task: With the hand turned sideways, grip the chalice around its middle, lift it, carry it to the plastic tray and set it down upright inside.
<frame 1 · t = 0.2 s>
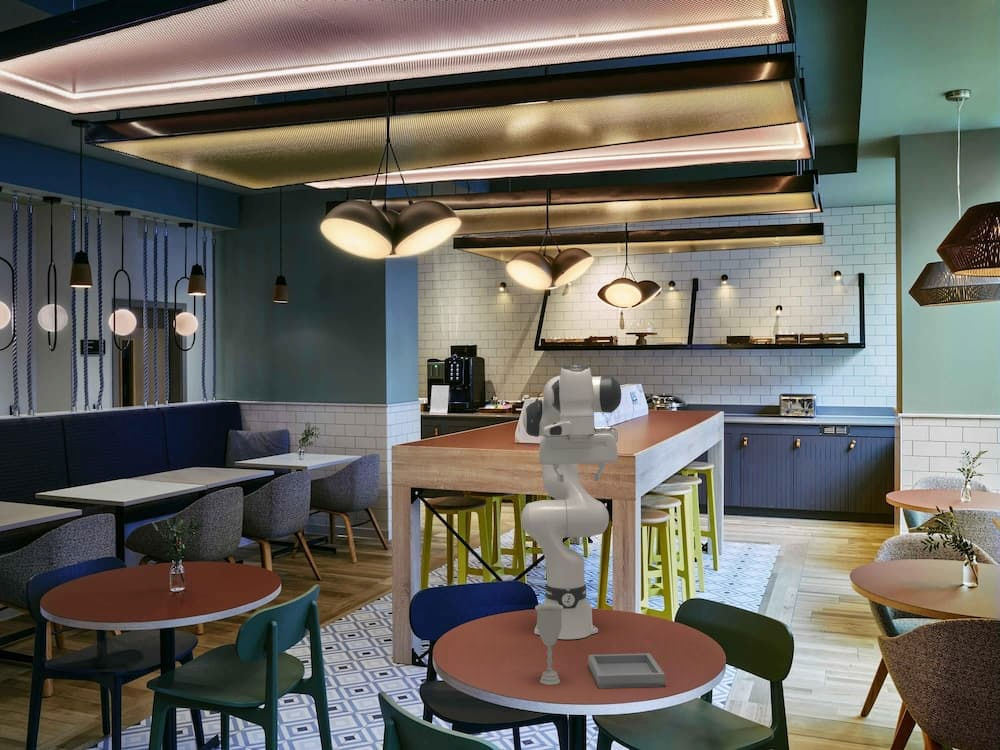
hand: (578, 481, 216), 48 cm above the table, tool pointing down, fingers open, 8 cm apart
tray: (625, 676, 209), on the table
chalice: (550, 681, 206), on the table
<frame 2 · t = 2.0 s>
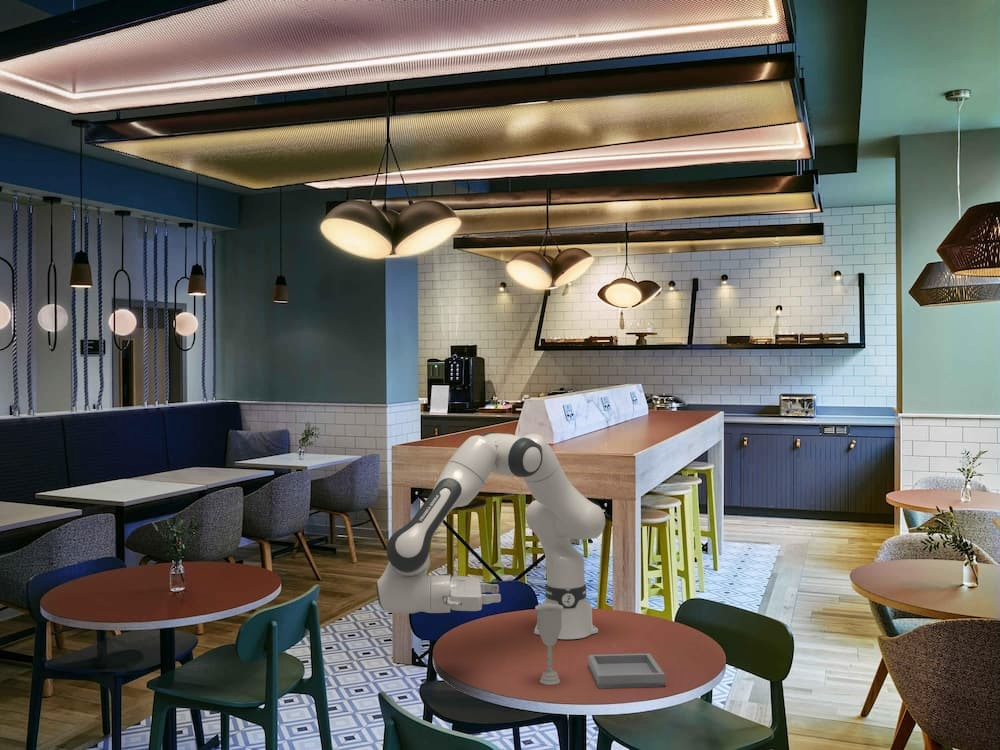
hand: (499, 593, 206), 22 cm above the table, tool horizontal, fingers open, 8 cm apart
nothing on the table moved.
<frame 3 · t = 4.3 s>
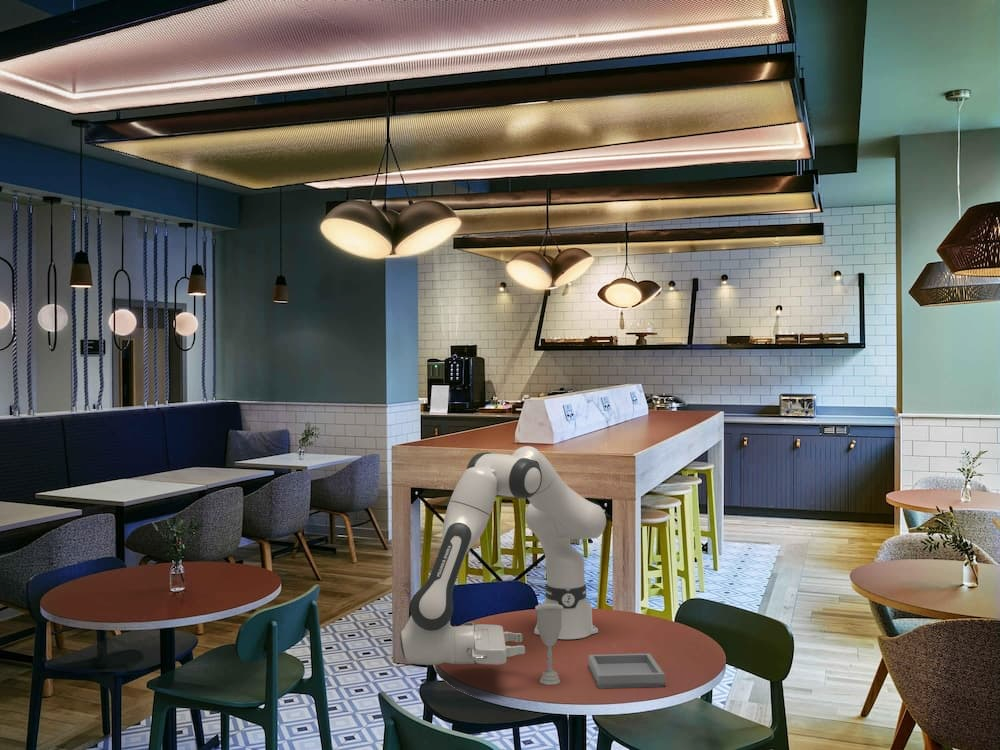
hand: (523, 643, 206), 9 cm above the table, tool horizontal, fingers open, 8 cm apart
nothing on the table moved.
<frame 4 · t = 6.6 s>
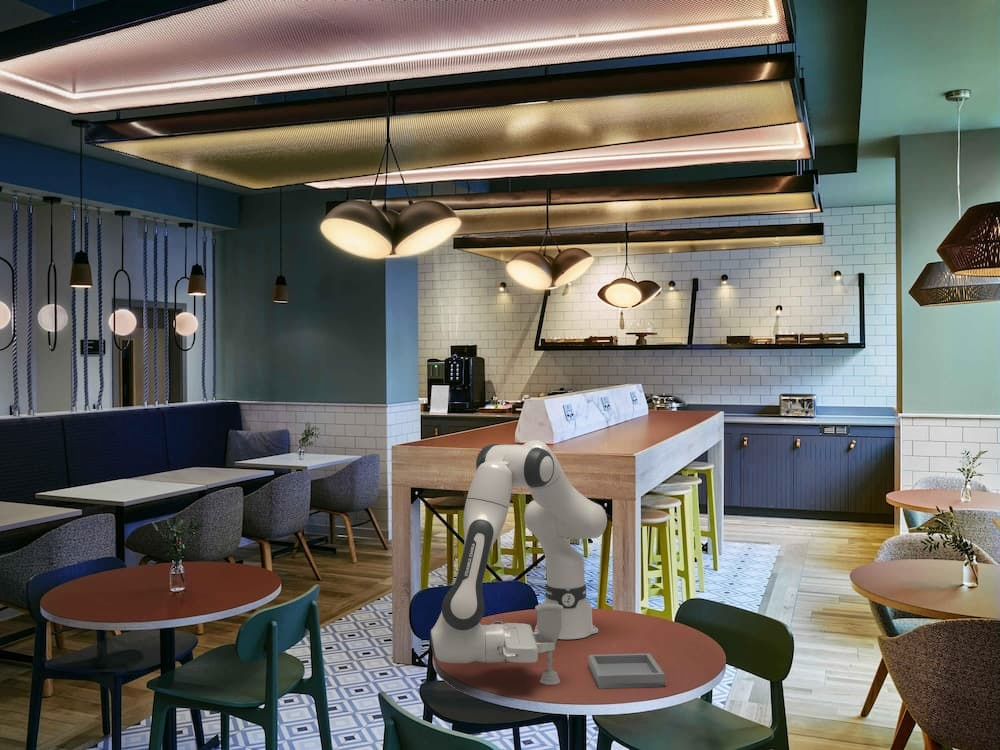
hand: (553, 641, 206), 10 cm above the table, tool horizontal, fingers closed on chalice, 5 cm apart
chalice: (550, 681, 206), on the table, touching gripper
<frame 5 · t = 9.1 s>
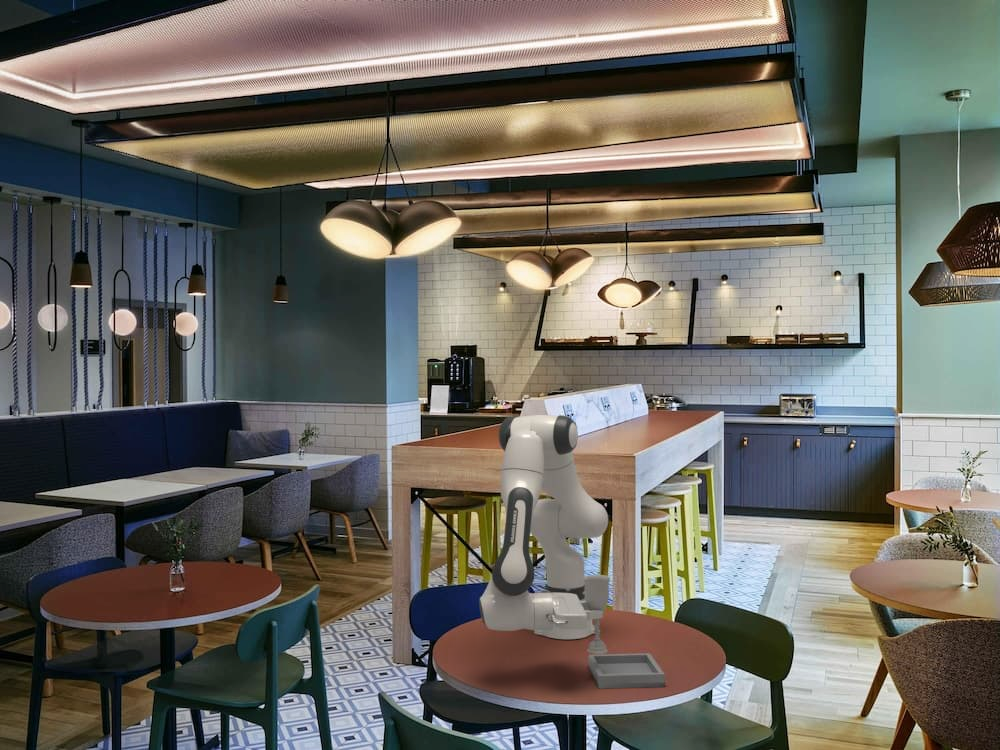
hand: (600, 610, 208), 17 cm above the table, tool horizontal, fingers closed on chalice, 5 cm apart
chalice: (597, 651, 208), point 6 cm above the table, touching gripper
when the fingers open (12 cm above the table, at t = 11.8 s): chalice stays where it is, resting on tray.
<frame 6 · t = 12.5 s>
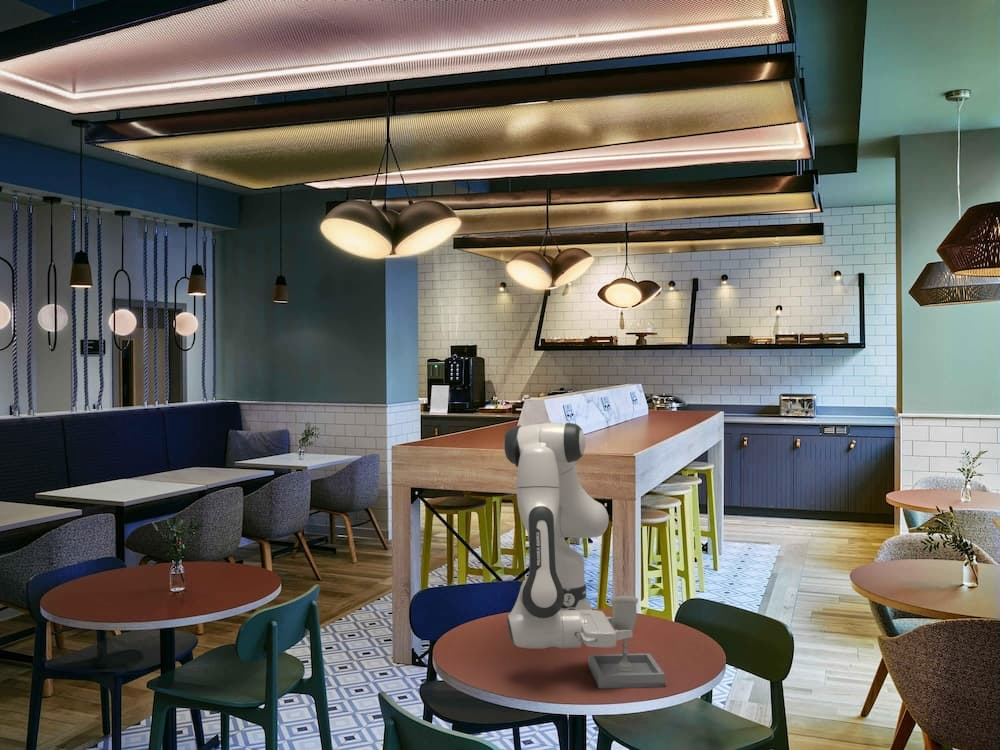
hand: (628, 627, 209), 12 cm above the table, tool horizontal, fingers open, 8 cm apart
chalice: (625, 672, 209), point 1 cm above the table, touching tray
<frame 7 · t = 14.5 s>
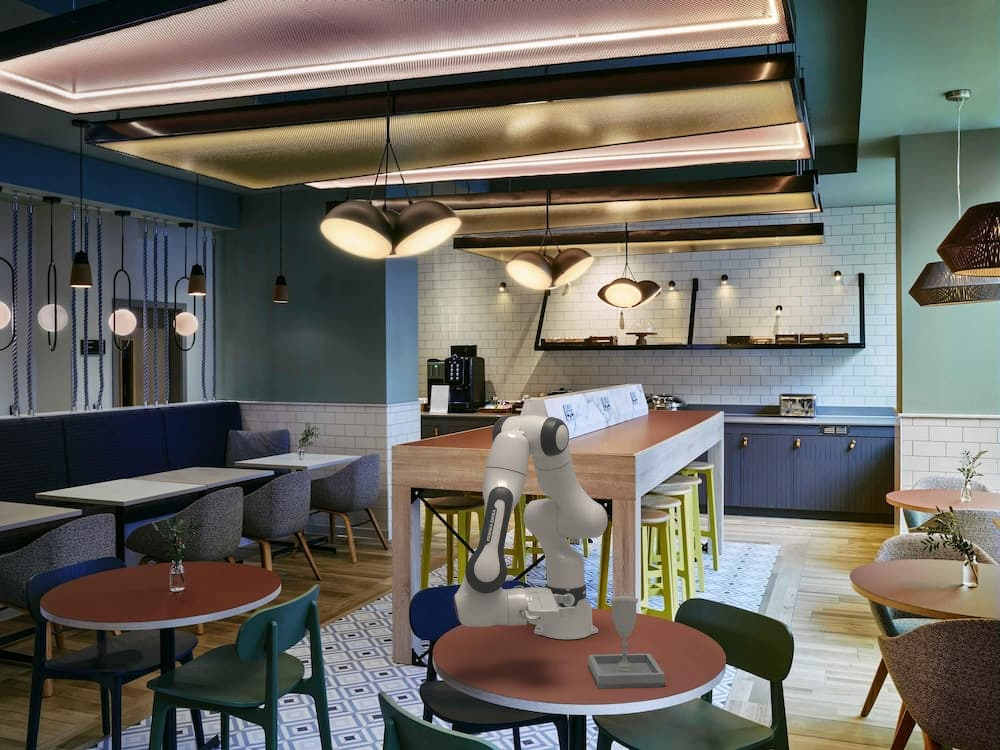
hand: (573, 604, 212), 17 cm above the table, tool horizontal, fingers open, 8 cm apart
nothing on the table moved.
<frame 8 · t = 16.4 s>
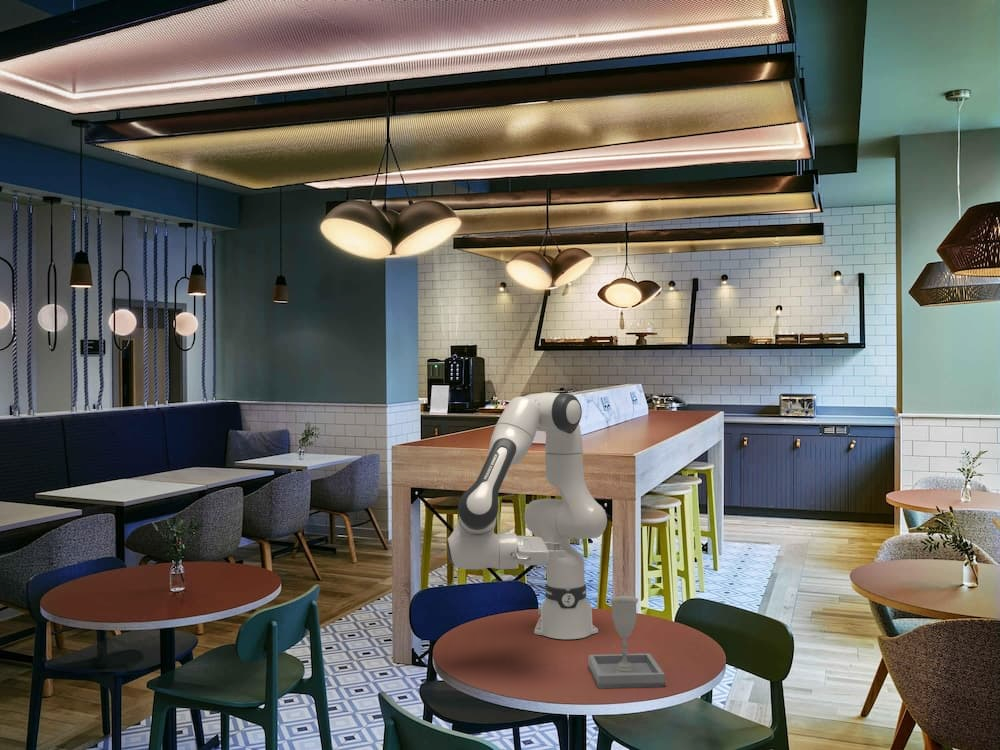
hand: (563, 550, 217), 30 cm above the table, tool horizontal, fingers open, 8 cm apart
nothing on the table moved.
at the end: chalice inside the target area on the tray (0.1 cm from its centre), point 0.8 cm above the tray's base; chalice tilted 0°; the gripper is holding nothing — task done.
